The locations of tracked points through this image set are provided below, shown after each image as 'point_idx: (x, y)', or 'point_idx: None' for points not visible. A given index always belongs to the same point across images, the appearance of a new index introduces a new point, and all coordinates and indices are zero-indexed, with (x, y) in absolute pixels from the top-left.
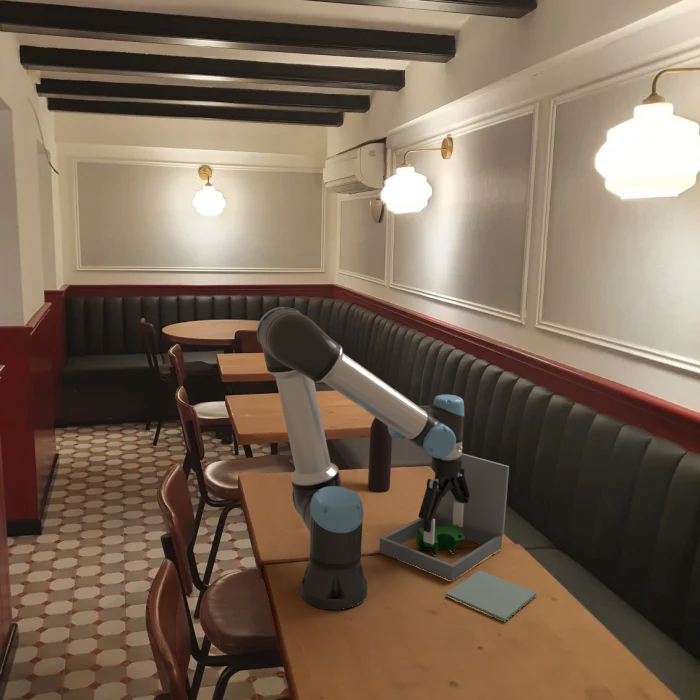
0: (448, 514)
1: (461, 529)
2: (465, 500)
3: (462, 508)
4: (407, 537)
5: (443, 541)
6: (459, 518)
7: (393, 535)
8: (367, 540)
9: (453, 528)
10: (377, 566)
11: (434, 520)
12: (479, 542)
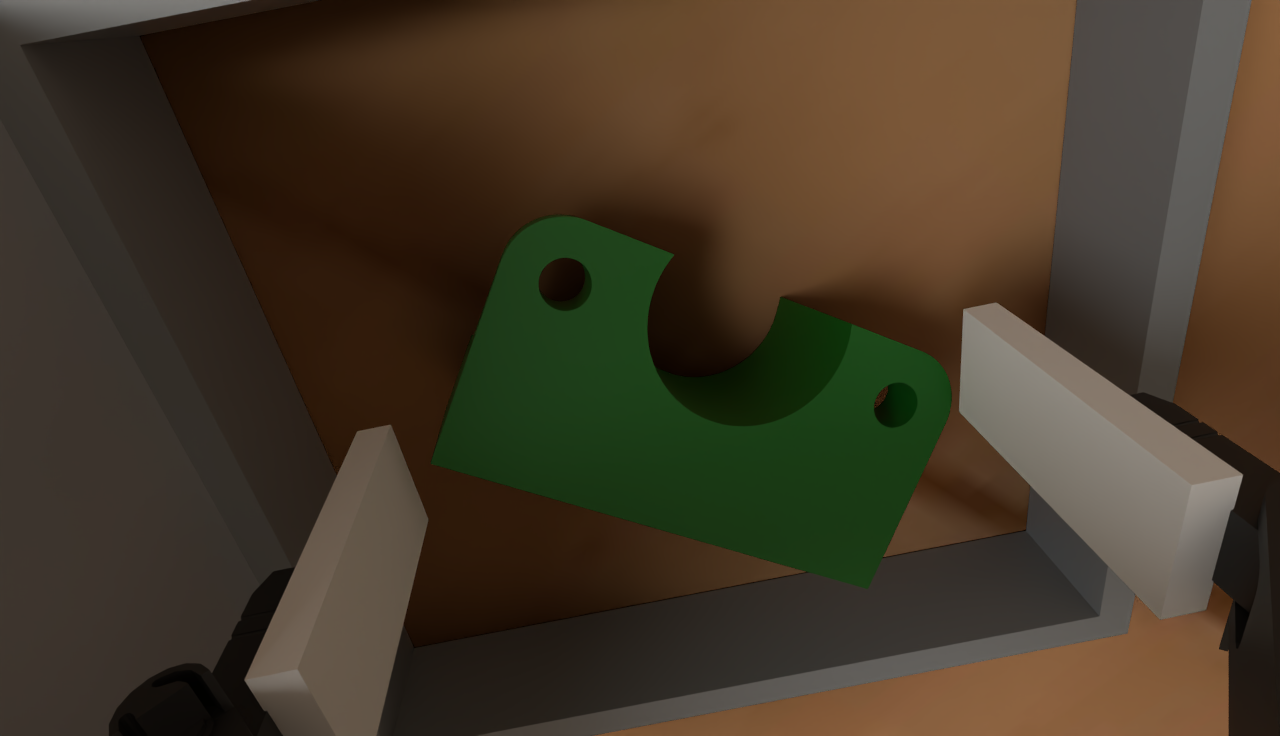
0: None
1: (288, 474)
2: (178, 728)
3: (314, 605)
4: (757, 601)
5: (661, 378)
6: (379, 515)
7: (983, 626)
8: (953, 688)
9: (531, 431)
10: (1241, 414)
11: (1194, 473)
12: (225, 249)
